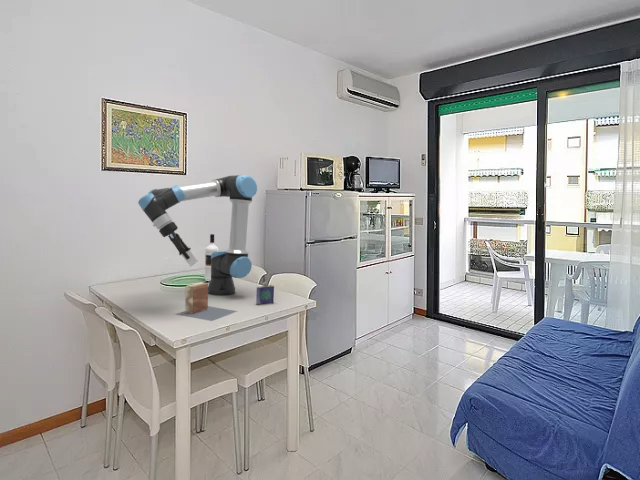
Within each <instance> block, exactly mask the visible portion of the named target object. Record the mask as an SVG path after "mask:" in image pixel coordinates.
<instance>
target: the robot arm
mask: <svg viewBox="0 0 640 480" xmlns="http://www.w3.org/2000/svg"><path fill="white" fill-rule="evenodd" d="M257 192H258V185H257V181H256V180H255V179H254V177H252V176H250V175H248V174H247V175H246V174H236V175H227V176H224V177H220V178H216V179H211V181H207V182H200V183H194V184H185V185H180V186H179V185H173V186H171V187H166V188H165V187H164V188H154V189H151V190H149V192H147V194H145V195H144V196H142V197H140V199H138V201H137V204H138V205H139V207H140V209H141V210H142V211H143V213H145V215H146V216H147V217H148V218H149V220H150V221H151V223H152V227H155V228H156V229H157V230H159V231H158V232H159V233H160V235H161V237H163V238H166V237H168V238H169V241H170V242H171V243H172V244H173V245H174V247H175V248H176V249H177V251H178V255H179V256H182V257H183V258H184V260H185V261H186V263H187V264H188V265H189V266H190V267H193V266H194V265H195V264H196V263H198V262H199V261H198V259H197V258H196V256H195V254H193V252H192V250H191V247H189V246H187V244H186V243H185V242H184V241H183V238H181V236H180V235H179V234H178V233H176V231H177V230H178V228H179V227H178V226H177V224H176V222H175V221H173V218H172V217H171V215H169V214H168V212H167V211H166V210H168V209H170V208H172V207H173V206H175V205H177V204H179V203H181V202H186V201H190V200H191V201H192V200H196V199H203V198H209V197H210V198H211V197H215V198H222V197H223V198H224V197H227V198H229V201H230V202H231V218H230V220H231V221H230V231H229V233H230V234H229V245H228V246H229V248H228V249H227V250H224V251H219V252H213V253H212V254H211V280H210V282H208V295H212V296H225V295H226V296H229V295H231V294H232V295H233V294H235V293H236V285H235V282H234V279H242V278H245V277H247V276H248V275H249V274H250V272H251V270H252V268H253V267H252V265H253V264H252V261H251V259H250V257H249V252H248V250H247V249H246V248H247V238H248V237H247V235H248V234H247V233H248V220H249V219H248V218H249V207H250V204H251V203H252V201H253V197H254V196H255V195H256V194H257ZM233 278H234V279H233Z"/></svg>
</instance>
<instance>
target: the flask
mask: <svg viewBox="0 0 640 480" xmlns="http://www.w3.org/2000/svg"><path fill="white" fill-rule="evenodd" d="M274 291H275V286H274V285H272V284H267V282H263V285H261V286H256V300H255V304H256V305H257V306H261V305H270V303H273V304H274V302H275V301H274V296H275V295H274V294H275V292H274Z"/></svg>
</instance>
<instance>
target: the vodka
mask: <svg viewBox="0 0 640 480" xmlns="http://www.w3.org/2000/svg"><path fill="white" fill-rule="evenodd" d="M204 250H205V253H204V254H205V255H204V256H205V259H204V260H205V262H204V263H205V264H204V269H205V270H204V277H203V279H204V278H205V279H211V254H212V253H213V252H220V250H219V247H218V246H217V245H216V244H215V234H213V233H212V234H211V233H210V234H209V245H207V246H206V247H205V248H204Z"/></svg>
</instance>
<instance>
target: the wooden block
mask: <svg viewBox="0 0 640 480" xmlns="http://www.w3.org/2000/svg"><path fill="white" fill-rule="evenodd" d="M208 286H209V282H196V283H193V284H189V285H185V296H184V297H185V300H184V301H185V308H184V309H185V310H184V311H185V313H190V314H194V313H197V312H200V311H203V310H206V309H208V306H209V300H208V299H209V293H208Z"/></svg>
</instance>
